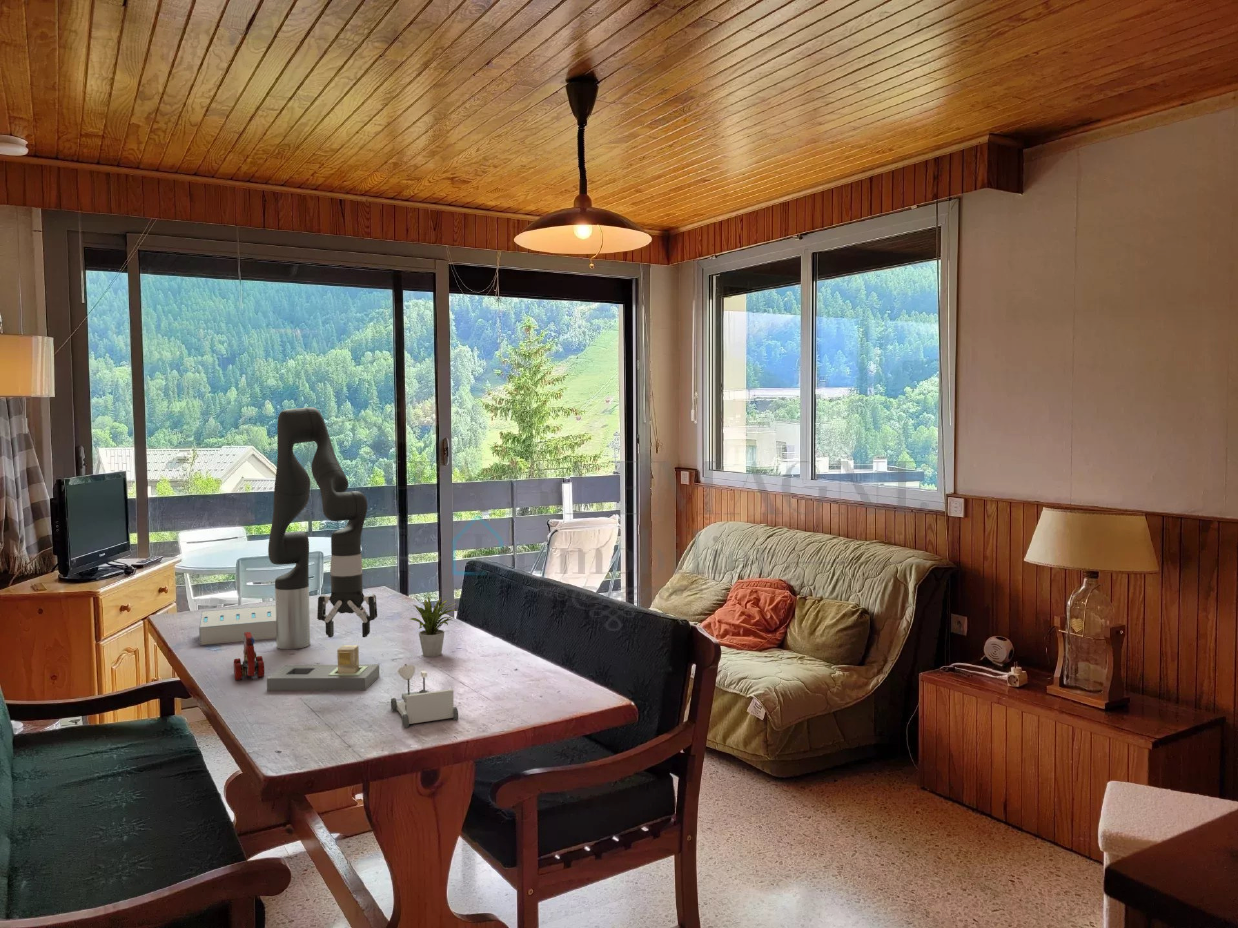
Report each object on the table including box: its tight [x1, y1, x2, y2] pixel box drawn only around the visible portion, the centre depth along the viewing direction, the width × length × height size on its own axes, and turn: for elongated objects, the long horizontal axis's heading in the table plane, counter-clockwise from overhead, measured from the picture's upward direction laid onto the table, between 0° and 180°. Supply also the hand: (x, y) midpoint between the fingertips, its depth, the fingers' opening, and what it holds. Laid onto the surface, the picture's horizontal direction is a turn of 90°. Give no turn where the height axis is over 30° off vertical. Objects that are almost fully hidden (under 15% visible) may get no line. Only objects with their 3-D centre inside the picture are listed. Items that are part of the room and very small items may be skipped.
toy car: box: [390, 663, 459, 729], centre depth 201 cm, size 18×10×12 cm
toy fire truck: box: [233, 632, 265, 681], centre depth 231 cm, size 7×12×10 cm, turn 26°
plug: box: [336, 644, 360, 674], centre depth 223 cm, size 5×4×9 cm
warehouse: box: [198, 604, 276, 646], centre depth 275 cm, size 30×14×8 cm, turn 112°
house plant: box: [408, 595, 459, 658], centre depth 249 cm, size 14×14×16 cm
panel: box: [266, 664, 380, 691], centre depth 224 cm, size 12×24×3 cm, turn 89°
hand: (347, 636), depth 223 cm, fingers open, 8 cm apart
